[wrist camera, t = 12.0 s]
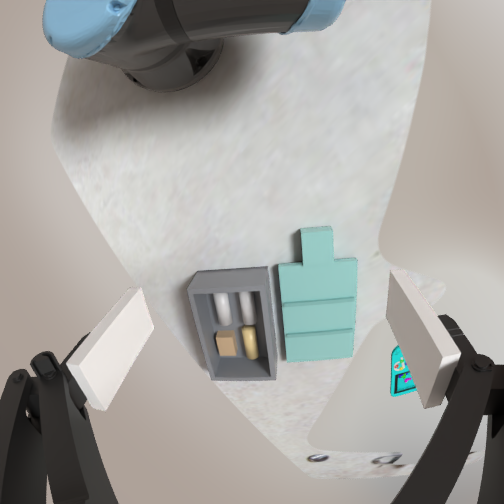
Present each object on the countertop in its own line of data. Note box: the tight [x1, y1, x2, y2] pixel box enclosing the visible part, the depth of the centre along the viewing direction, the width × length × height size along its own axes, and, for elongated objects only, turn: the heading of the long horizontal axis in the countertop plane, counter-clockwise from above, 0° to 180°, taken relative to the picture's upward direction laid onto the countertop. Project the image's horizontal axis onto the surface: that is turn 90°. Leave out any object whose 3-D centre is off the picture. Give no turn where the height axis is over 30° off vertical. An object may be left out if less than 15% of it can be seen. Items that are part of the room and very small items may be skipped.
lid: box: [278, 226, 357, 362], centre depth 46 cm, size 24×12×2 cm, turn 7°
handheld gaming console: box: [390, 345, 417, 397], centre depth 51 cm, size 8×1×15 cm
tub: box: [187, 266, 277, 381], centre depth 47 cm, size 18×11×6 cm, turn 7°
